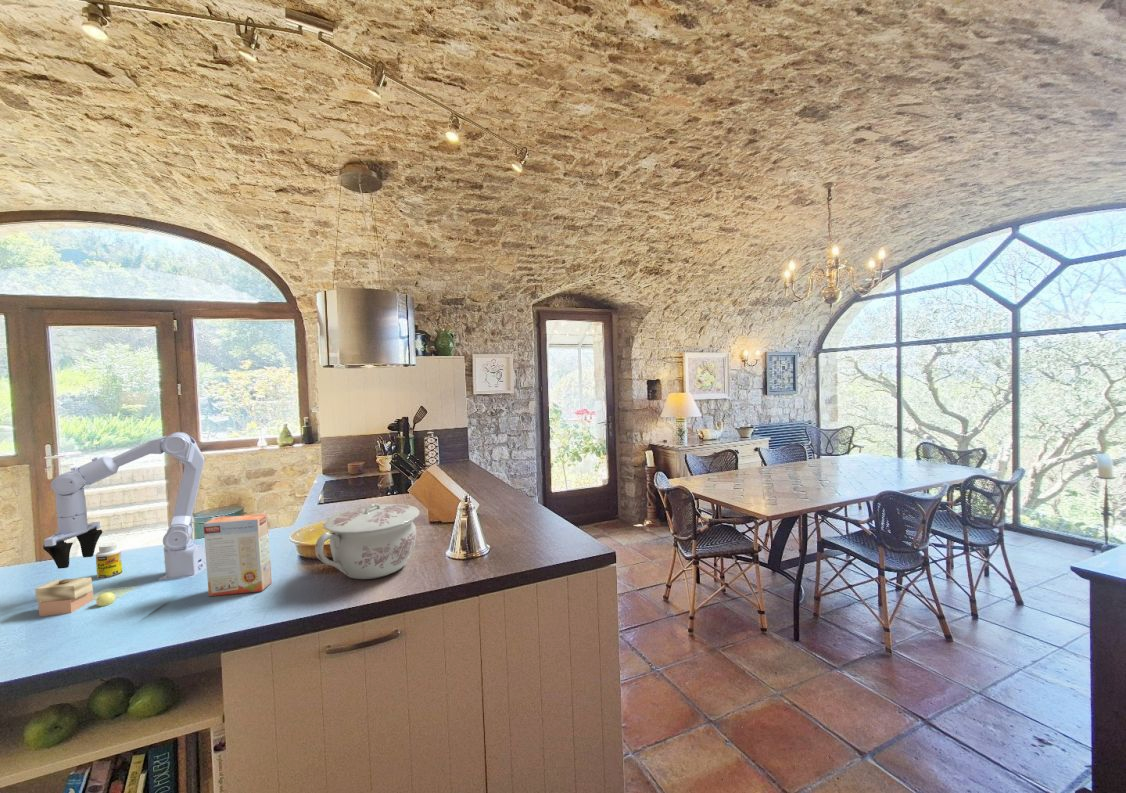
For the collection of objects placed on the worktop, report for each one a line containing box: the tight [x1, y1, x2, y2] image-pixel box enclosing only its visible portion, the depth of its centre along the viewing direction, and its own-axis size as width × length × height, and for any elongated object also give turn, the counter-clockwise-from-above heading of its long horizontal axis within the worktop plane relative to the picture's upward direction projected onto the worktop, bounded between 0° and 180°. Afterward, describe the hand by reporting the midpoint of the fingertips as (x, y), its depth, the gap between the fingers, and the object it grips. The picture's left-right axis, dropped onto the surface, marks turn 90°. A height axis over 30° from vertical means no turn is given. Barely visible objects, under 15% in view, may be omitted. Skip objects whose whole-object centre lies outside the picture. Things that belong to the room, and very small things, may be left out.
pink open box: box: [37, 587, 94, 617], centre depth 121 cm, size 7×7×4 cm
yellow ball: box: [95, 592, 116, 607], centre depth 123 cm, size 4×4×4 cm
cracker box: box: [203, 513, 273, 597], centre depth 130 cm, size 14×6×21 cm, turn 97°
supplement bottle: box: [95, 542, 123, 580], centre depth 142 cm, size 6×6×10 cm
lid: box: [34, 577, 94, 603], centre depth 121 cm, size 9×5×4 cm, turn 96°
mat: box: [93, 585, 139, 601], centre depth 129 cm, size 9×7×1 cm
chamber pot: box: [314, 502, 421, 580], centre depth 140 cm, size 28×28×21 cm
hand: (76, 562), depth 129 cm, fingers open, 7 cm apart
